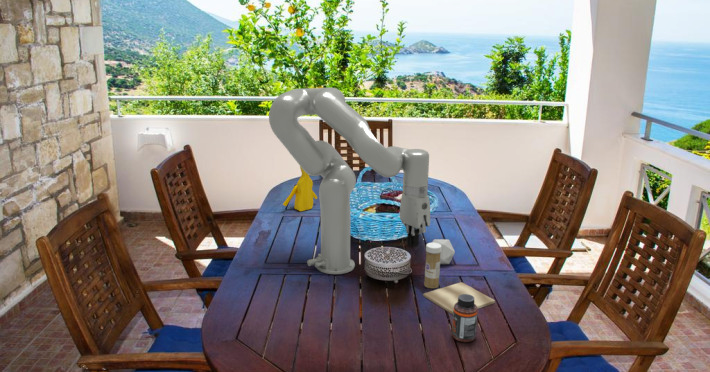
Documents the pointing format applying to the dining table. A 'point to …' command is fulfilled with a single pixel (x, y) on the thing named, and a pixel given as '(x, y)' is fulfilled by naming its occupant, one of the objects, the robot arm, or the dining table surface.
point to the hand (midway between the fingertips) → (412, 245)
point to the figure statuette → (302, 193)
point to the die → (445, 250)
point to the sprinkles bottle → (432, 265)
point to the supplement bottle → (464, 318)
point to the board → (456, 296)
